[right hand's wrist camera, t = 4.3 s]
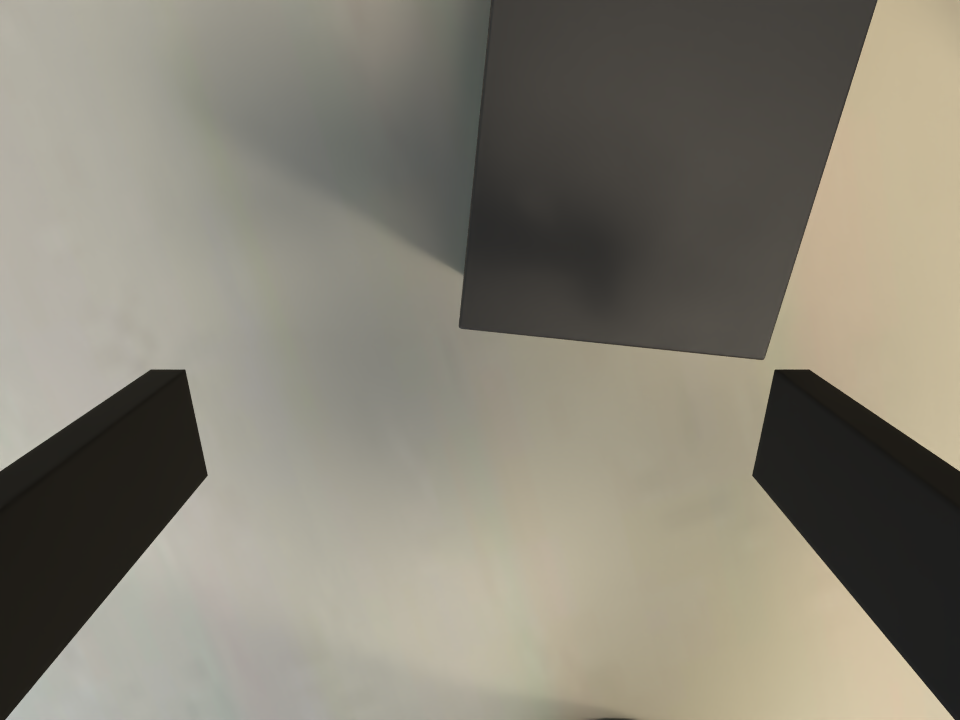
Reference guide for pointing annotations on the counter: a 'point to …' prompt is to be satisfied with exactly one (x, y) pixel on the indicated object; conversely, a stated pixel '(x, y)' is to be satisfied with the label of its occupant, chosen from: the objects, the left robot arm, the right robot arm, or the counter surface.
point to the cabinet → (652, 166)
